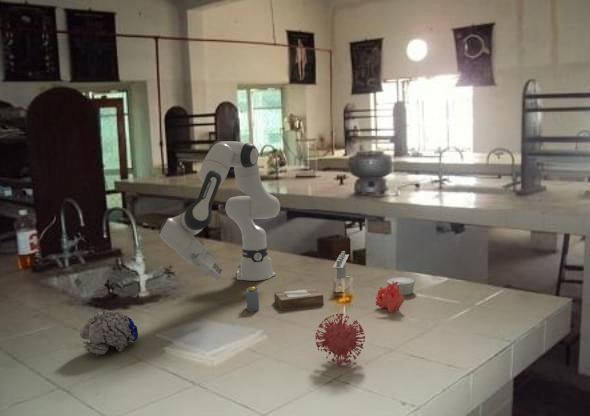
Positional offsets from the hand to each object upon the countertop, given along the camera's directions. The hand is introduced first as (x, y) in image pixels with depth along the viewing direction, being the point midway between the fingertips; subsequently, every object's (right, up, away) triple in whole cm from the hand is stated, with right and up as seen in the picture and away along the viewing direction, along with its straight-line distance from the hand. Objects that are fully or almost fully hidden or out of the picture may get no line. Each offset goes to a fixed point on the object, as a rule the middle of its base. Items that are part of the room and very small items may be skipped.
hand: (220, 275), depth 245 cm
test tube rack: (+50, -8, +31) cm, 60 cm away
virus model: (+43, -21, -56) cm, 74 cm away
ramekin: (+73, -9, +15) cm, 76 cm away
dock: (+31, -12, +6) cm, 34 cm away
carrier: (+13, -14, +2) cm, 19 cm away
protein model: (+65, -13, -7) cm, 67 cm away
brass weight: (+12, -7, +1) cm, 14 cm away
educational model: (-32, -21, -37) cm, 53 cm away
